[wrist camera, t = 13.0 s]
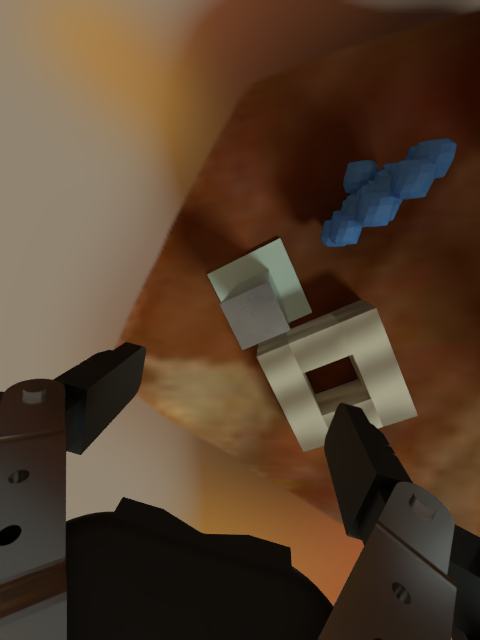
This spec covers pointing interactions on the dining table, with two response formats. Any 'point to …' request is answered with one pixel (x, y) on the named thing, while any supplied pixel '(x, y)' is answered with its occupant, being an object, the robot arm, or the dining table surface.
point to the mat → (257, 263)
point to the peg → (255, 310)
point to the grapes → (385, 189)
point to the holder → (326, 347)
